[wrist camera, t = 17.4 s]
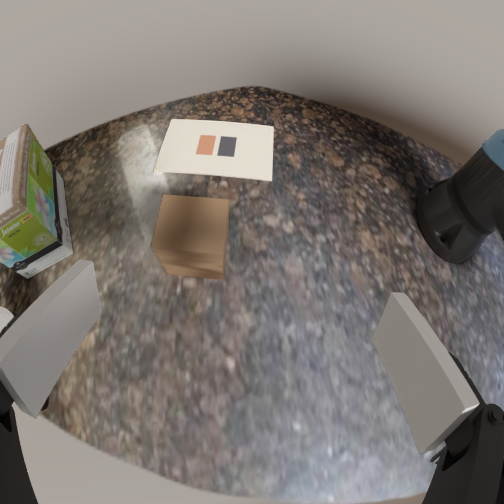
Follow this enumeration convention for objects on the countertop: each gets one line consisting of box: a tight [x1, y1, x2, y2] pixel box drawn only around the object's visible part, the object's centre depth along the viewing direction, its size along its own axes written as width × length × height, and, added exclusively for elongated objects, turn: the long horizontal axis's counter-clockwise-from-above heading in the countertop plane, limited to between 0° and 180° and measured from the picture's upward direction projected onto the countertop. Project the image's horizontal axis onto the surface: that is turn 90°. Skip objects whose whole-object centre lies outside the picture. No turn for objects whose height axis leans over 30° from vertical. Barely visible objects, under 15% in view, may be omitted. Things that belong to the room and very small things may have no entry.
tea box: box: [0, 124, 73, 279], centre depth 27 cm, size 15×10×15 cm, turn 28°
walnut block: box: [151, 194, 229, 280], centre depth 31 cm, size 7×6×9 cm
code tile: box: [153, 119, 274, 181], centre depth 42 cm, size 18×12×1 cm, turn 86°
